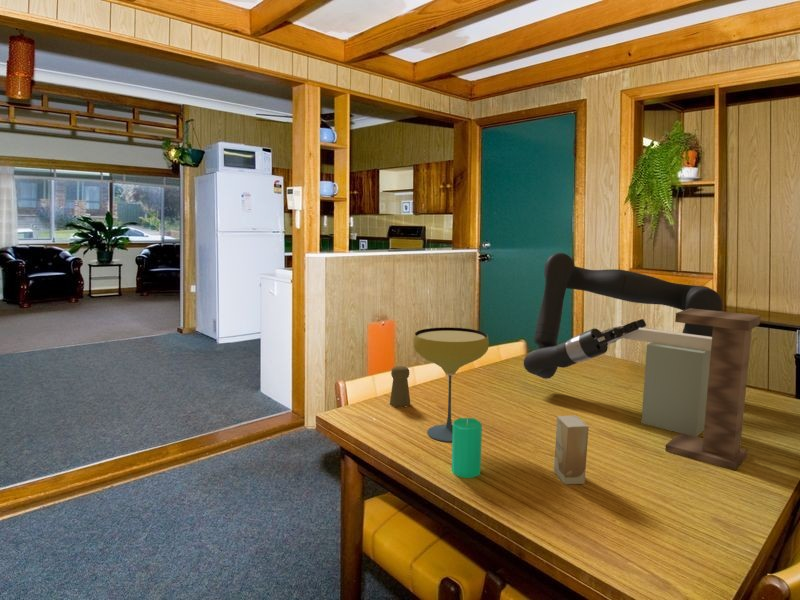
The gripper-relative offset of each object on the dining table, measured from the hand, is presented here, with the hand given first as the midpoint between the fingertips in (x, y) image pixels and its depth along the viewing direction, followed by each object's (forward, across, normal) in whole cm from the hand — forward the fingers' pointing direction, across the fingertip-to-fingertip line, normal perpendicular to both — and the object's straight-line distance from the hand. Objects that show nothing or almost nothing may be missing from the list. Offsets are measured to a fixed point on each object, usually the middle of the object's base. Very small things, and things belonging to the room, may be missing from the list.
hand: (640, 323), depth 143 cm
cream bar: (+4, 0, +7) cm, 8 cm away
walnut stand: (+6, -14, +32) cm, 36 cm away
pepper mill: (-57, -39, -4) cm, 69 cm away
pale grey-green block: (-4, 0, +27) cm, 27 cm away
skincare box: (-9, -47, +24) cm, 54 cm away
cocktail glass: (-37, -46, +8) cm, 59 cm away
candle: (-23, -59, +16) cm, 66 cm away
